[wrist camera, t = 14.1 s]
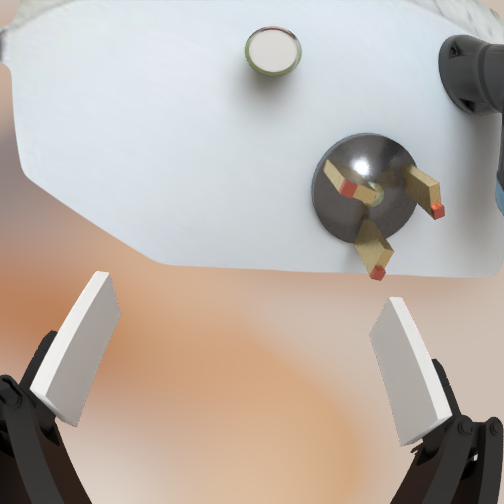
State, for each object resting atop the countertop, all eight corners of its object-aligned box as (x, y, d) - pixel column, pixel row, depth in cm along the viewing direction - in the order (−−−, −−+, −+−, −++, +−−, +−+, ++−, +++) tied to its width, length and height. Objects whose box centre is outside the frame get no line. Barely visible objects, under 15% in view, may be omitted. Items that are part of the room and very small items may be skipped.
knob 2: (364, 218, 43) (386, 251, 35) (373, 221, 43) (396, 254, 35) (353, 242, 46) (371, 278, 38) (361, 245, 46) (380, 280, 38)
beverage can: (300, 41, 30) (317, 24, 20) (285, 84, 34) (296, 83, 24) (257, 29, 29) (257, 6, 19) (242, 72, 33) (236, 66, 23)
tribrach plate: (402, 120, 36) (410, 122, 33) (420, 218, 45) (427, 225, 43) (294, 155, 40) (296, 160, 38) (330, 252, 50) (333, 261, 47)
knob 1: (355, 170, 39) (379, 194, 31) (350, 180, 40) (373, 207, 32) (327, 158, 38) (346, 180, 30) (322, 169, 39) (340, 194, 31)
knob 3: (400, 166, 38) (431, 189, 30) (409, 163, 37) (442, 185, 29) (405, 192, 40) (434, 219, 32) (414, 189, 40) (444, 215, 32)
